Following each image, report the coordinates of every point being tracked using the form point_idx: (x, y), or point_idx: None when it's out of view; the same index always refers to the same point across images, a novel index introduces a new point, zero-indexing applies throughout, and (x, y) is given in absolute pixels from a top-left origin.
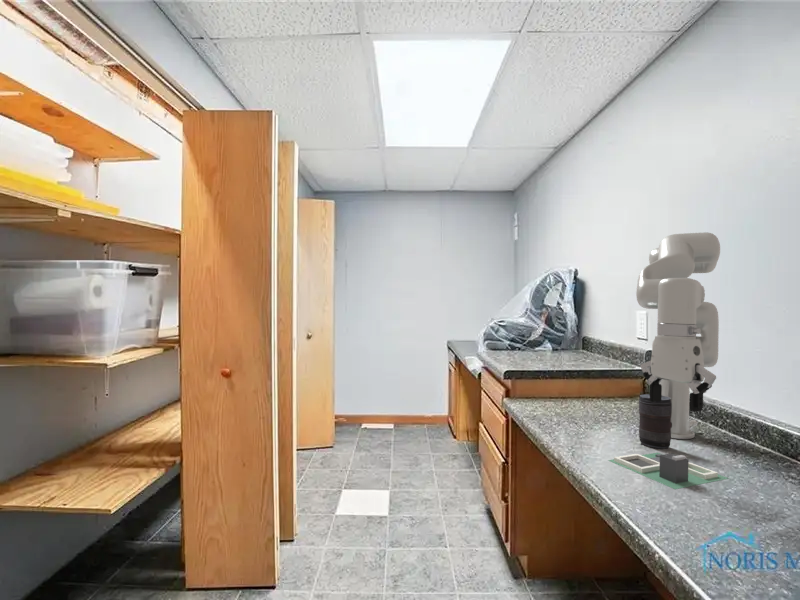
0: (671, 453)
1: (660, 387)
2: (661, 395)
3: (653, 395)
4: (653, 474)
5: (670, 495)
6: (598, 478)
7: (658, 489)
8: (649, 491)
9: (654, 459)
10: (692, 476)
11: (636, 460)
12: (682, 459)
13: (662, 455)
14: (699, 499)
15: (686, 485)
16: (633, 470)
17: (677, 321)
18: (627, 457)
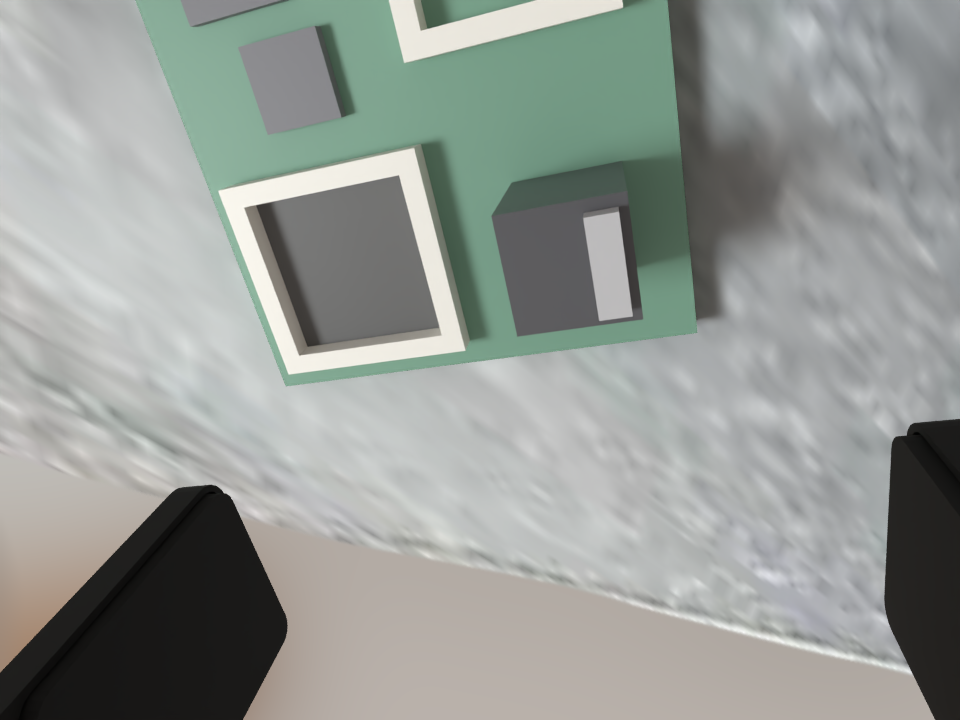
0: (492, 219)
1: (85, 699)
2: (178, 548)
3: (242, 693)
4: (496, 291)
5: (692, 347)
6: (456, 516)
7: (616, 350)
8: (627, 408)
9: (289, 117)
10: (561, 58)
11: (287, 232)
12: (624, 246)
13: (522, 321)
14: (778, 235)
15: (672, 225)
16: (432, 357)
17: None
18: (277, 289)
